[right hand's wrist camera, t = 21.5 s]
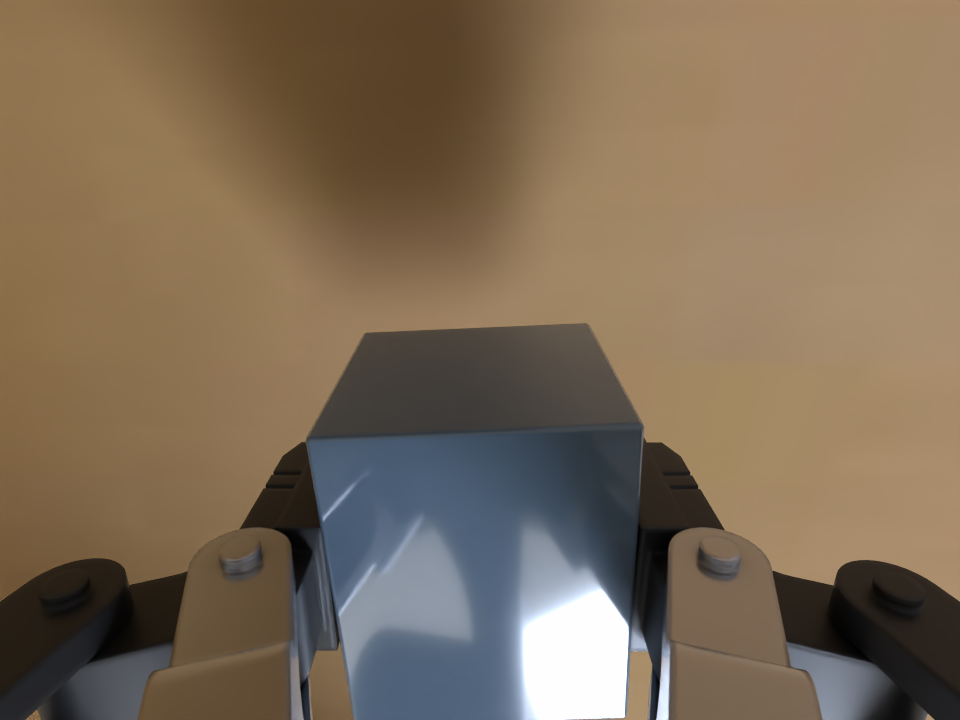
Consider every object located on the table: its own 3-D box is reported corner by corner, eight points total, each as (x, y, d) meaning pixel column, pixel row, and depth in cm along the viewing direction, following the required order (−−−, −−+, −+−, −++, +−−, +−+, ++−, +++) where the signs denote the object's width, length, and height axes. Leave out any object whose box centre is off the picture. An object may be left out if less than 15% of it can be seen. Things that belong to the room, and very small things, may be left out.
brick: (589, 321, 11) (646, 423, 8) (584, 545, 13) (627, 720, 9) (363, 331, 12) (302, 438, 8) (390, 553, 13) (353, 729, 10)
